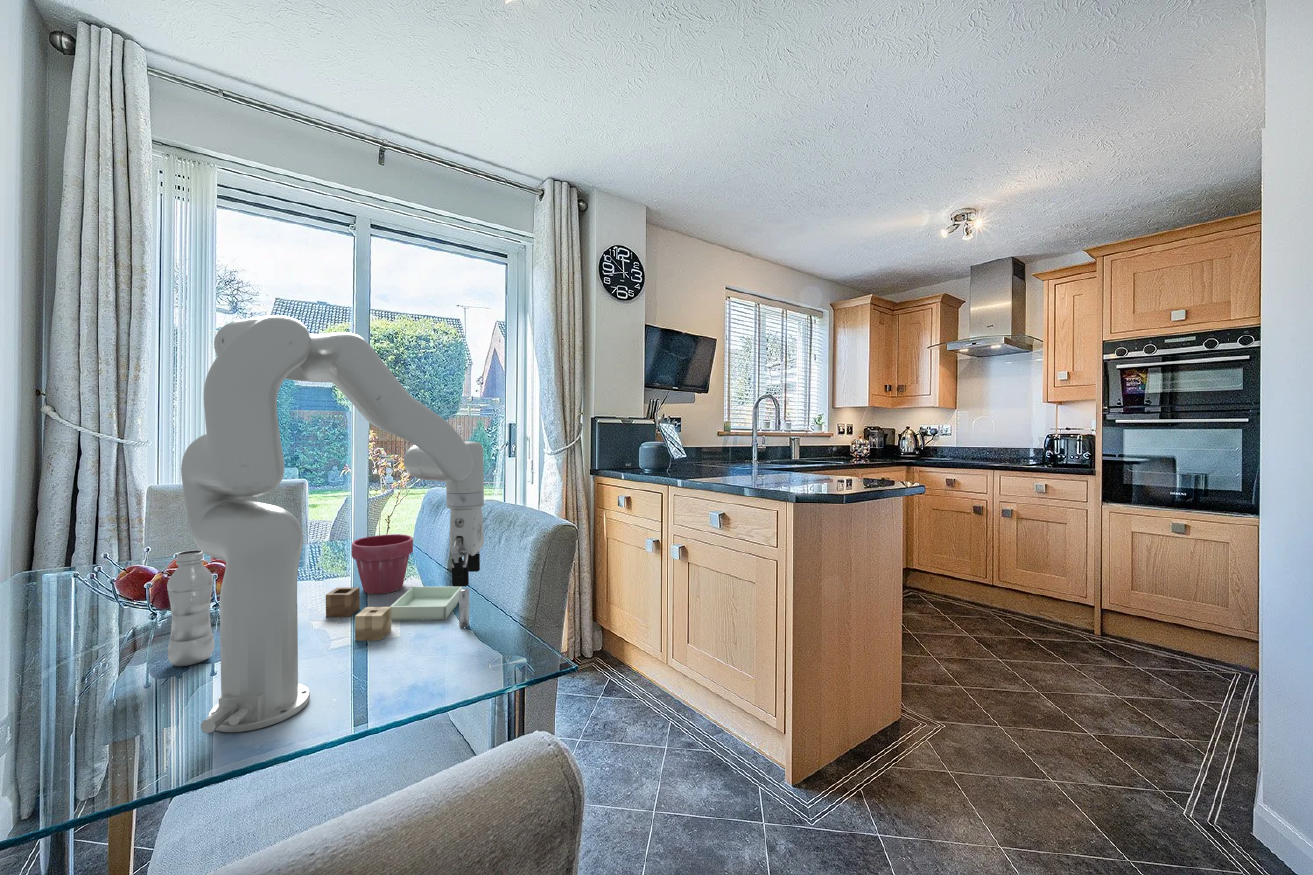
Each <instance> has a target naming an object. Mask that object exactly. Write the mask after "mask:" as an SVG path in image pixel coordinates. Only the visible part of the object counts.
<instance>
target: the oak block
mask: <svg viewBox="0 0 1313 875" xmlns="http://www.w3.org/2000/svg"><path fill="white" fill-rule="evenodd" d="M354 621H355V622H354V624H355V625H354V634H355V636H354V637H355V638H354V639H355V640H354V641H358V642H359V641H382V640H383V639H384V638H385V637H386V636H387V635H388V634H390V632H391V631H392V620H391V607H390V606H365V607H364V608H363V609H361V611H359V612H358V613H357V614H356V615H355V616H354Z"/></svg>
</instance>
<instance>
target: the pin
mask: <svg viewBox="0 0 1313 875" xmlns="http://www.w3.org/2000/svg"><path fill="white" fill-rule="evenodd" d="M469 625H470V589H469V588H465V587H464V588H463V589H460V590H459V604H458V628H459V627H460V628H459V629H465V628H464V627H467V626H469ZM469 627H470V626H469Z"/></svg>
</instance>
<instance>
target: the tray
mask: <svg viewBox="0 0 1313 875" xmlns="http://www.w3.org/2000/svg"><path fill="white" fill-rule="evenodd" d="M463 587H464V586H463ZM463 587H453V586H452V585H451V586H449V585H448V586H411V587H410V588H409V589H407V591H405V592H404V594H402V595H401V596H400V597H399V598H398V599H396V600H395V601H394V602H393V603H392V604H391V605H390V606H389V607H391V621H446V620H447V619H446V618H448V617H449V616H450V615H451V614H452V613H453V611H454V610H455V609H456V607H457V606H458V605H459V604H458V603H459V590H460V589H464V588H463ZM457 604H458V605H457ZM456 605H457V606H456ZM454 608H455V609H454ZM450 613H451V614H450ZM445 619H446V620H445Z"/></svg>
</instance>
